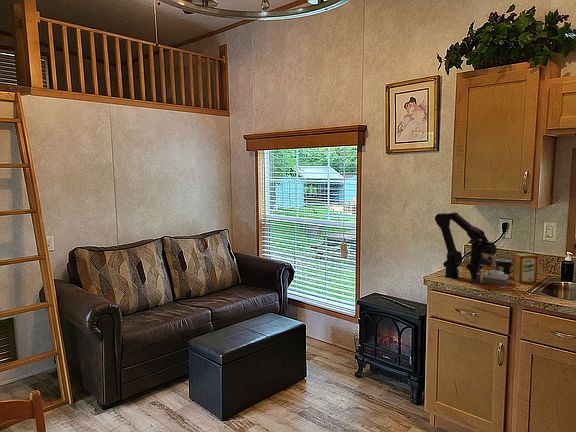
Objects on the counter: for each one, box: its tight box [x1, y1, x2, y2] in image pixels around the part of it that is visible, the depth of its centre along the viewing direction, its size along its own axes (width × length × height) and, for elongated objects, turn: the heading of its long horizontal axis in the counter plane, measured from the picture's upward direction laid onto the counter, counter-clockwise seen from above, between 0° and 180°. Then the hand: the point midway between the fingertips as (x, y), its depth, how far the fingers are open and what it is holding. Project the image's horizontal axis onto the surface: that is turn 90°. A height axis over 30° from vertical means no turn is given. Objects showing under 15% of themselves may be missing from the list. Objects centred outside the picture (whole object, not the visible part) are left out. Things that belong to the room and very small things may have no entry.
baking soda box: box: [512, 253, 539, 284], centre depth 234 cm, size 10×6×16 cm
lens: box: [470, 270, 482, 285], centre depth 234 cm, size 5×5×7 cm
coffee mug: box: [494, 258, 514, 276], centre depth 245 cm, size 12×9×10 cm
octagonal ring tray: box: [481, 269, 510, 286], centre depth 234 cm, size 12×9×6 cm
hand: (475, 279), depth 234 cm, fingers closed on lens, 5 cm apart
